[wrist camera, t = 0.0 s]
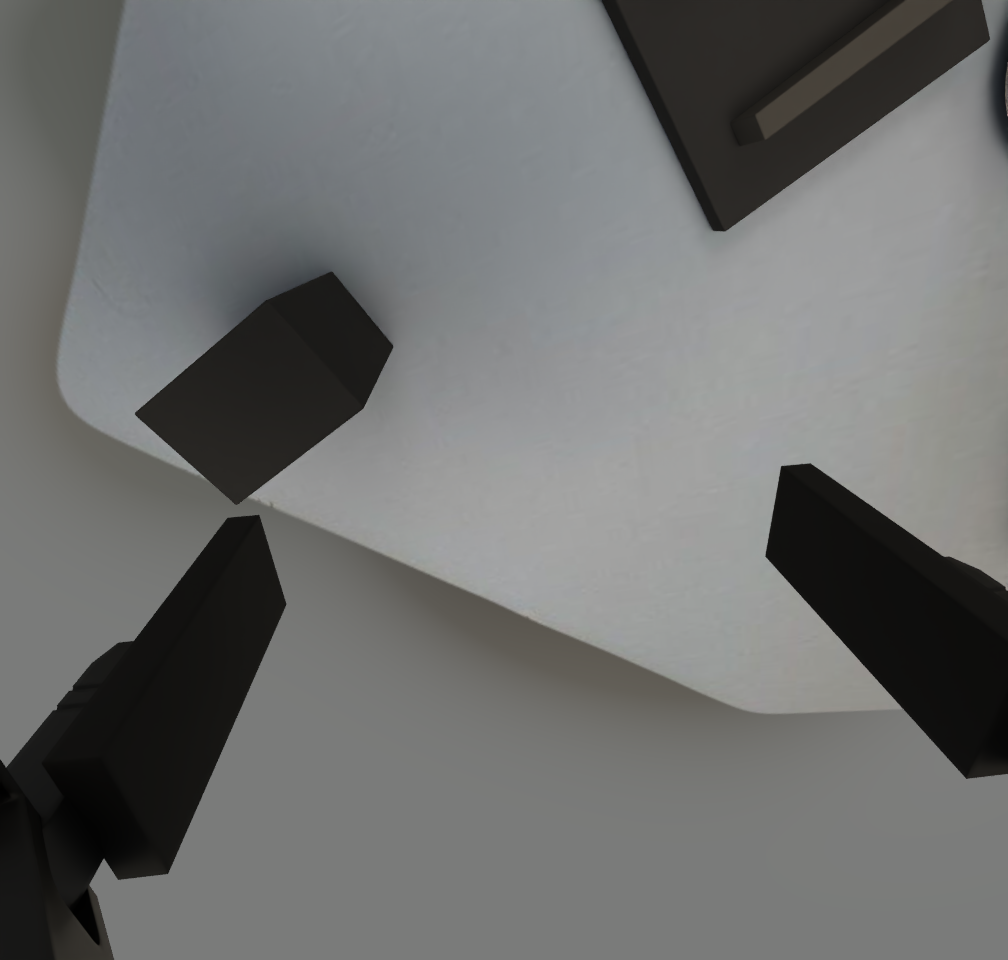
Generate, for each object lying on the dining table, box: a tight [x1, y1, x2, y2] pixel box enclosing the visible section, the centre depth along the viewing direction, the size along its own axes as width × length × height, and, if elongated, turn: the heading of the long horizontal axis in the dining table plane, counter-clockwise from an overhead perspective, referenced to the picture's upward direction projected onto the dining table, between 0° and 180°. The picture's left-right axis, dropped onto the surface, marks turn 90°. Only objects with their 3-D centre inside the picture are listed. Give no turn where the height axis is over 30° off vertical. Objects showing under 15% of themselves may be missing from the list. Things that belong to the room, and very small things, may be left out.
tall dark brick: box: [135, 272, 393, 505], centre depth 26 cm, size 5×7×11 cm
